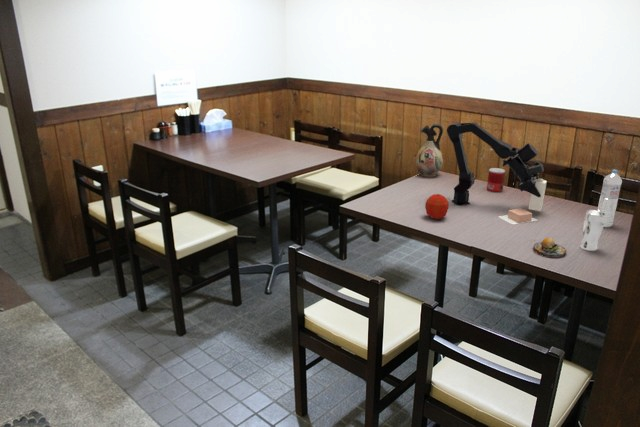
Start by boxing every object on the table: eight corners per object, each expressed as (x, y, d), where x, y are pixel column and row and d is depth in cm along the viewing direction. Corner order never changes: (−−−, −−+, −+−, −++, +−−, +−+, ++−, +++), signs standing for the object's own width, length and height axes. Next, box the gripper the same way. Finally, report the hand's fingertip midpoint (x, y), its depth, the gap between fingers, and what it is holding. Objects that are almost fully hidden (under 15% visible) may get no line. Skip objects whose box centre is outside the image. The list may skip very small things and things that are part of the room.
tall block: (528, 208, 234) (533, 179, 229) (530, 205, 238) (535, 176, 233) (540, 211, 231) (545, 181, 226) (541, 207, 235) (547, 178, 231)
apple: (420, 217, 233) (422, 193, 229) (432, 211, 240) (434, 188, 236) (440, 223, 226) (442, 199, 222) (451, 217, 233) (454, 193, 229)
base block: (518, 222, 224) (519, 215, 223) (507, 217, 230) (508, 210, 229) (531, 220, 226) (532, 213, 225) (520, 215, 232) (521, 208, 231)
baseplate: (512, 227, 223) (512, 224, 222) (497, 218, 232) (497, 216, 231) (537, 222, 227) (538, 220, 227) (522, 214, 236) (522, 212, 236)
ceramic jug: (411, 177, 290) (415, 124, 279) (417, 170, 304) (421, 119, 293) (442, 180, 285) (447, 127, 274) (446, 173, 298) (451, 121, 287)
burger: (571, 258, 195) (574, 240, 192) (541, 259, 194) (544, 241, 191) (555, 245, 206) (558, 228, 203) (527, 246, 205) (530, 229, 203)
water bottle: (610, 223, 227) (622, 168, 218) (613, 228, 221) (625, 173, 212) (593, 221, 229) (604, 167, 220) (595, 226, 223) (607, 171, 214)
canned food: (503, 192, 265) (506, 172, 261) (487, 191, 267) (489, 171, 263) (501, 188, 272) (504, 168, 268) (486, 187, 274) (488, 167, 270)
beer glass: (575, 244, 206) (582, 209, 200) (591, 244, 206) (599, 209, 201) (585, 252, 199) (592, 216, 194) (602, 251, 200) (610, 215, 194)
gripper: (530, 162, 220) (554, 191, 219) (537, 152, 235) (559, 179, 234) (509, 177, 227) (531, 204, 226) (517, 166, 242) (538, 192, 241)
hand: (540, 195), depth 232 cm, fingers closed on tall block, 5 cm apart
